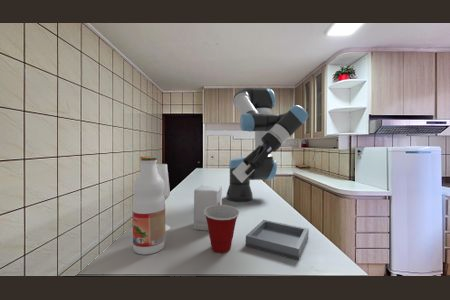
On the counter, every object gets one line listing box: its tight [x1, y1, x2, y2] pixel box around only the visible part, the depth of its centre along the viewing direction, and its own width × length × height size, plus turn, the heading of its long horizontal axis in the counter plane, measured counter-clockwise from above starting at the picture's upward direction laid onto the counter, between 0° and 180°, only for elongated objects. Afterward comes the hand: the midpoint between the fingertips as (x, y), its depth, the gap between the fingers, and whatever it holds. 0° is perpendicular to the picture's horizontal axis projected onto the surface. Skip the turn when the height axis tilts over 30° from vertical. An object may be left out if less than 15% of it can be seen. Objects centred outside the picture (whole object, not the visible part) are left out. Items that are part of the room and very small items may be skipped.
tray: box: [245, 219, 309, 261], centre depth 70 cm, size 16×16×3 cm
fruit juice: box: [131, 155, 166, 255], centre depth 65 cm, size 9×9×28 cm
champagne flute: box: [156, 163, 171, 232], centre depth 79 cm, size 7×7×24 cm
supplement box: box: [193, 184, 223, 232], centre depth 82 cm, size 9×9×15 cm
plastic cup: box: [204, 204, 240, 254], centre depth 65 cm, size 11×11×12 cm
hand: (236, 177), depth 82 cm, fingers open, 13 cm apart
